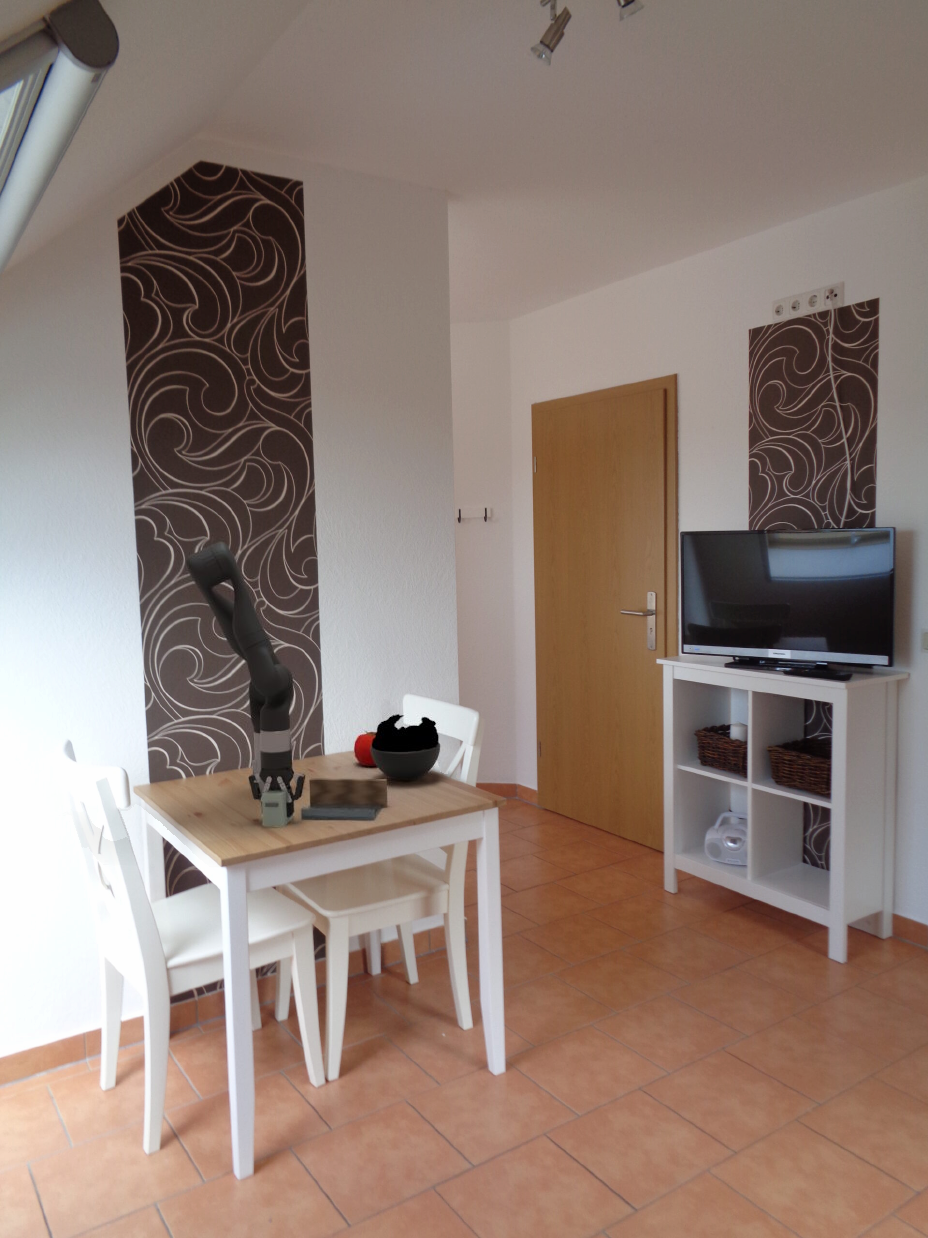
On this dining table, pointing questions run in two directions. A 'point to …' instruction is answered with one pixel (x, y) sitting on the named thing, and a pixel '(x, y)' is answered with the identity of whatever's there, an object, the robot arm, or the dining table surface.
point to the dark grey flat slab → (341, 811)
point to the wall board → (348, 791)
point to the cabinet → (274, 808)
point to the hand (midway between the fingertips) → (278, 816)
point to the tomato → (364, 748)
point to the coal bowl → (405, 748)
